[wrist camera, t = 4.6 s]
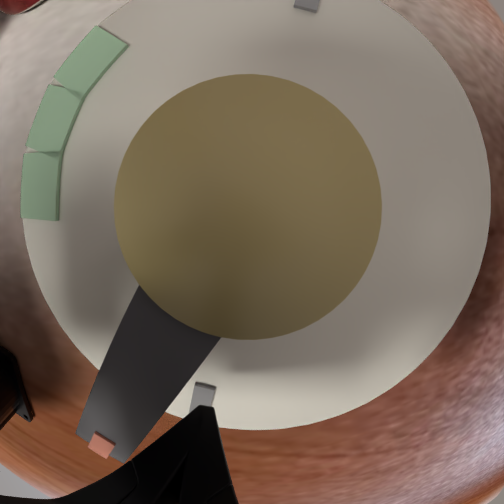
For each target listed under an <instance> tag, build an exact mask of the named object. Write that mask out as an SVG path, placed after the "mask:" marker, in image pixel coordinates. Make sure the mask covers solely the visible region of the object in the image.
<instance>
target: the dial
mask: <svg viewBox="0 0 504 504" xmlns="http://www.w3.org/2000/svg"><path fill="white" fill-rule="evenodd" d="M235 74H259V75H268V76H274V77H278V78H282V79H286V80H290V81H292V82H295V83H297V84H300V85H302V86H304V87H307V88H309V89H310V90H312V91H314V92H316V93H317V94H319V95H321V96H323V97H324V98H325V99H327V100H328V101H329V102H330V103H332V104H333V105H334V106H336V107H337V108H338V109H339V110H340V111H341V112H342V113H343V114H344V115H345V116H346V117H347V118H348V119H349V120H350V121H351V123H352V124H353V125H354V127H355V128H356V129H357V131H358V132H359V134H360V135H361V136H362V138H363V140H364V142H365V144H366V145H367V147H368V149H369V151H370V153H371V156H372V158H373V161H374V164H375V167H376V169H377V174H378V178H379V182H380V187H381V198H382V217H381V226H380V232H379V237H378V241H377V244H376V247H375V251H374V254H373V256H372V259H371V261H370V263H369V265H368V267H367V269H366V271H365V273H364V274H363V276H362V278H361V279H360V281H359V282H358V284H357V285H356V287H355V288H354V289H353V290H352V291H351V293H350V294H349V295H348V296H347V297H346V298H345V300H343V301H342V302H341V303H340V304H339V305H338V306H337V307H336V308H335V309H334V310H332V311H331V312H330V313H328V314H327V315H325V316H324V317H323V318H321V319H320V320H318V321H316V322H314V323H313V324H311V325H309V326H307V327H305V328H303V329H300V330H298V331H295V332H292V333H290V334H286V335H282V336H278V337H274V338H268V339H259V340H236V339H229V338H222V337H221V339H220V340H219V341H218V343H217V344H216V345H215V347H214V348H213V349H212V351H211V352H210V353H209V355H208V356H207V357H206V359H205V360H204V361H203V363H202V364H201V365H200V367H199V368H198V369H197V371H196V372H195V373H194V375H193V376H192V377H191V379H190V380H189V381H188V382H187V384H186V385H185V386H184V388H183V389H182V390H181V392H180V393H179V394H178V396H177V397H176V398H175V399H174V401H173V402H172V403H171V405H170V406H169V407H168V408H167V410H166V411H165V412H167V413H169V414H172V415H175V416H178V417H181V418H184V417H185V416H186V415H188V414H189V413H190V412H191V411H192V410H193V409H195V408H196V407H197V406H198V405H206V406H212V407H214V409H215V413H216V418H217V422H218V427H222V428H231V429H244V430H269V429H284V428H290V427H296V426H302V425H307V424H312V423H315V422H319V421H322V420H326V419H329V418H332V417H335V416H338V415H341V414H343V413H346V412H348V411H350V410H353V409H355V408H357V407H359V406H361V405H364V404H366V403H367V402H369V401H371V400H373V399H374V398H376V397H378V396H379V395H381V394H383V393H384V392H386V391H387V390H389V389H391V388H392V387H393V386H395V385H396V384H397V383H398V382H400V381H401V380H402V379H404V378H405V377H406V376H407V375H409V374H410V373H411V372H412V371H414V370H415V369H416V368H417V367H418V366H419V365H420V364H421V363H422V362H423V361H424V360H425V359H426V358H427V357H428V356H429V355H430V354H431V352H432V351H433V350H434V349H435V348H436V347H437V345H438V344H439V343H440V342H441V340H442V339H443V338H444V336H445V335H446V334H447V332H448V331H449V330H450V328H451V327H452V326H453V324H454V322H455V321H456V319H457V317H458V316H459V314H460V312H461V310H462V309H463V307H464V305H465V303H466V301H467V299H468V297H469V295H470V293H471V290H472V288H473V285H474V283H475V281H476V278H477V276H478V273H479V270H480V266H481V263H482V259H483V255H484V252H485V248H486V243H487V237H488V230H489V222H490V213H491V184H490V174H489V166H488V159H487V153H486V148H485V144H484V141H483V137H482V134H481V130H480V127H479V124H478V120H477V118H476V115H475V113H474V111H473V108H472V106H471V104H470V102H469V99H468V97H467V95H466V93H465V91H464V89H463V87H462V86H461V84H460V82H459V81H458V79H457V77H456V76H455V74H454V72H453V71H452V69H451V68H450V66H449V65H448V63H447V62H446V61H445V59H444V58H443V57H442V56H441V54H440V53H439V52H438V51H437V50H436V48H435V47H434V46H433V45H432V44H431V42H430V41H429V40H428V39H427V38H426V37H425V36H424V35H423V34H422V33H421V32H420V31H419V30H418V29H416V28H415V27H414V26H413V25H412V24H411V23H410V22H409V21H408V20H406V19H405V18H404V17H403V16H402V15H400V14H399V13H397V12H396V11H395V10H393V9H392V8H390V7H389V6H387V5H386V4H384V3H383V2H381V1H380V0H132V1H130V2H128V3H127V4H125V5H124V6H122V7H121V8H120V9H118V10H117V11H116V12H114V13H113V14H112V15H110V16H109V17H108V18H106V19H105V20H104V21H103V22H101V23H100V24H99V25H98V26H95V27H94V28H93V29H92V30H91V31H90V32H89V33H88V35H87V36H86V37H85V38H84V39H83V40H82V41H81V42H80V44H79V45H78V46H77V47H76V48H75V50H74V51H73V52H72V53H71V54H70V56H69V57H68V58H67V59H66V61H65V62H64V63H63V65H62V66H61V67H60V69H59V70H58V71H57V73H56V74H55V75H54V78H55V79H54V80H53V82H52V84H51V85H48V88H47V90H46V92H45V94H44V97H43V99H42V101H41V104H40V106H39V109H38V111H37V114H36V116H35V119H34V122H33V125H32V127H31V130H30V133H29V136H28V139H27V142H26V145H25V146H27V149H26V153H25V154H24V156H23V166H22V180H21V208H20V217H21V218H22V220H23V228H24V235H25V241H26V246H27V250H28V254H29V257H30V261H31V265H32V268H33V272H34V274H35V277H36V279H37V282H38V284H39V287H40V289H41V291H42V294H43V296H44V298H45V300H46V302H47V304H48V306H49V307H50V309H51V311H52V313H53V314H54V316H55V318H56V320H57V321H58V323H59V324H60V326H61V327H62V329H63V330H64V331H65V333H66V334H67V335H68V337H69V338H70V339H71V341H72V342H73V343H74V345H75V346H76V347H77V348H78V349H79V350H80V351H81V353H82V354H83V355H84V356H85V357H86V358H87V359H88V360H89V361H90V362H91V363H92V364H93V365H94V366H95V367H96V368H97V369H98V370H100V367H101V365H102V363H103V360H104V358H105V356H106V353H107V351H108V349H109V347H110V344H111V342H112V340H113V338H114V336H115V333H116V331H117V329H118V327H119V325H120V323H121V320H122V318H123V316H124V314H125V312H126V310H127V308H128V306H129V304H130V302H131V300H132V298H133V296H134V294H135V292H136V290H137V288H138V286H139V284H138V282H137V281H136V279H135V277H134V276H133V274H132V273H131V271H130V269H129V267H128V265H127V263H126V261H125V259H124V256H123V254H122V251H121V248H120V245H119V241H118V238H117V232H116V227H115V219H114V195H115V186H116V181H117V176H118V172H119V169H120V166H121V163H122V160H123V157H124V155H125V153H126V151H127V149H128V147H129V145H130V143H131V141H132V139H133V138H134V136H135V135H136V133H137V132H138V130H139V129H140V127H141V126H142V125H143V123H144V122H145V121H146V120H147V119H148V118H149V117H150V116H151V114H152V113H153V112H154V111H155V110H157V109H158V108H159V107H160V106H161V105H162V104H164V103H165V102H166V101H167V100H169V99H170V98H172V97H173V96H175V95H176V94H178V93H180V92H181V91H183V90H185V89H187V88H189V87H191V86H193V85H196V84H198V83H200V82H203V81H207V80H210V79H213V78H217V77H222V76H228V75H235Z"/></svg>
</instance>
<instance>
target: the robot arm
mask: <svg viewBox="0 0 504 504" xmlns="http://www.w3.org/2000/svg"><path fill="white" fill-rule="evenodd" d="M15 413H17V414H18V415H19V416H21V417H22V418H24V419H25V420H27V421H28V422H31V421H32V420H33V415H32V412H31V409H30V407H29V404H28V400H27V397H26V394H25V391H24V387H23V384H22V380H21V377H20V373H19V369H18V365H17V361H16V359H15V357H14V356H13V354H11V353H10V352H9V351H7V350H6V349H5V348H3V347H2V346H0V430H1V429H2V428H3V427H4V426H5V424H6V423H7V422H8V421H9V420H10V419H11V418H12V416H13V415H14V414H15ZM0 504H239V503H238V500H237V497H236V494H235V491H234V487H233V485H232V480H231V476H230V473H229V469H228V465H227V461H226V457H225V453H224V448H223V444H222V440H221V436H220V431H219V427H218V422H217V418H216V413H215V409H214V407H212V406H206V405H198V406H197V407H196V408H195V409H193V410H192V411H191V412H190V413H189V414H188V415H186V416H185V417H184V418H183V419H182V420H180V421H179V422H178V423H177V424H176V425H174V426H173V427H172V428H171V429H170V430H168V431H167V432H166V433H165V434H163V435H162V436H161V437H160V438H158V439H157V440H156V441H155V442H153V443H152V444H151V445H150V446H148V447H147V448H146V449H144V450H143V451H142V452H140V453H139V454H138V455H136V456H135V457H134V458H133V459H131V461H128V462H127V463H126V464H124V465H123V466H121V467H120V468H119V469H117V470H116V471H114V472H113V473H111V474H109V475H108V476H106V477H104V478H102V479H100V480H98V481H96V482H94V483H92V484H90V485H88V486H86V487H84V488H82V489H80V490H78V491H75V492H73V493H71V494H69V495H66V496H63V497H60V498H55V499H32V498H20V497H11V496H3V495H0Z"/></svg>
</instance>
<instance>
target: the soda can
mask: <svg viewBox="0 0 504 504" xmlns="http://www.w3.org/2000/svg"><path fill="white" fill-rule="evenodd" d="M43 1H45V0H0V11H2V12H4V13H6V14H10V15H15V14H19V13H22V12H25V11H27V10H30V9H32V8H34V7H35V6H37V5H39V4H40V3H42V2H43Z"/></svg>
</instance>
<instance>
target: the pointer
mask: <svg viewBox="0 0 504 504" xmlns="http://www.w3.org/2000/svg"><path fill="white" fill-rule="evenodd" d="M381 217H382V198H381V187H380V182H379V178H378V174H377V169H376V167H375V164H374V161H373V158H372V156H371V153H370V151H369V149H368V147H367V145H366V144H365V142H364V140H363V138H362V136H361V135H360V134H359V132H358V131H357V129H356V128H355V127H354V125H353V124H352V123H351V121H350V120H349V119H348V118H347V117H346V116H345V115H344V114H343V113H342V112H341V111H340V110H339V109H338V108H337V107H336V106H334V105H333V104H332V103H330V102H329V101H328V100H327V99H325V98H324V97H323V96H321V95H319V94H317V93H316V92H314V91H312V90H310V89H309V88H307V87H304V86H302V85H300V84H297V83H295V82H292V81H290V80H286V79H282V78H278V77H274V76H268V75H259V74H235V75H228V76H222V77H217V78H213V79H210V80H207V81H203V82H200V83H198V84H196V85H193V86H191V87H189V88H187V89H185V90H183V91H181V92H180V93H178V94H176V95H175V96H173V97H172V98H170V99H169V100H167V101H166V102H165V103H164V104H162V105H161V106H160V107H159V108H158V109H157V110H155V111H154V112H153V113H152V114H151V116H150V117H149V118H148V119H147V120H146V121H145V122H144V123H143V125H142V126H141V127H140V129H139V130H138V132H137V133H136V135H135V136H134V138H133V139H132V141H131V143H130V145H129V147H128V149H127V151H126V153H125V155H124V157H123V160H122V163H121V166H120V169H119V172H118V176H117V181H116V186H115V195H114V219H115V227H116V232H117V238H118V241H119V245H120V248H121V251H122V254H123V256H124V259H125V261H126V263H127V265H128V267H129V269H130V271H131V273H132V274H133V276H134V277H135V279H136V281H137V282H138V284H139V286H138V288H137V290H136V292H135V294H134V296H133V298H132V300H131V302H130V304H129V306H128V308H127V310H126V312H125V314H124V316H123V318H122V320H121V323H120V325H119V327H118V329H117V331H116V333H115V336H114V338H113V340H112V342H111V344H110V347H109V349H108V351H107V353H106V356H105V358H104V360H103V363H102V365H101V367H100V370H99V372H98V375H97V377H96V380H95V382H94V384H93V387H92V390H91V392H90V395H89V397H88V400H87V402H86V405H85V408H84V410H83V413H82V416H81V419H80V422H79V424H78V427H77V430H76V433H75V434H77V435H78V436H80V437H81V438H83V439H84V440H86V441H87V442H89V445H88V448H89V449H91V450H93V451H94V452H96V453H97V454H99V455H101V456H102V457H104V458H106V459H107V457H108V456H109V455H110V456H111V457H113V458H115V459H117V460H118V461H120V462H122V463H125V461H126V460H127V459H128V458H129V457H130V455H131V454H132V453H133V452H134V450H135V449H136V448H137V447H138V445H139V444H140V443H141V442H142V440H143V439H144V438H145V437H146V435H147V434H148V433H149V431H150V430H151V429H152V428H153V426H154V425H155V424H156V423H157V421H158V420H159V419H160V417H161V416H162V415H163V414H164V412H165V411H166V410H167V408H168V407H169V406H170V405H171V403H172V402H173V401H174V399H175V398H176V397H177V396H178V394H179V393H180V392H181V390H182V389H183V388H184V386H185V385H186V384H187V382H188V381H189V380H190V379H191V377H192V376H193V375H194V373H195V372H196V371H197V369H198V368H199V367H200V365H201V364H202V363H203V361H204V360H205V359H206V357H207V356H208V355H209V353H210V352H211V351H212V349H213V348H214V347H215V345H216V344H217V343H218V341H219V340H220V339H221V337H222V338H229V339H236V340H259V339H268V338H274V337H278V336H282V335H286V334H290V333H292V332H295V331H298V330H300V329H303V328H305V327H307V326H309V325H311V324H313V323H314V322H316V321H318V320H320V319H321V318H323V317H324V316H325V315H327V314H328V313H330V312H331V311H332V310H334V309H335V308H336V307H337V306H338V305H339V304H340V303H341V302H342V301H343V300H345V298H346V297H347V296H348V295H349V294H350V293H351V291H352V290H353V289H354V288H355V287H356V285H357V284H358V282H359V281H360V279H361V278H362V276H363V274H364V273H365V271H366V269H367V267H368V265H369V263H370V261H371V259H372V256H373V254H374V251H375V247H376V244H377V241H378V237H379V232H380V226H381Z"/></svg>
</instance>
